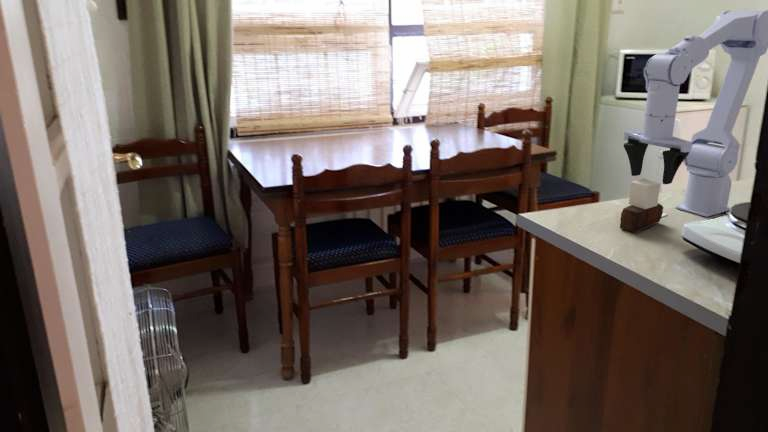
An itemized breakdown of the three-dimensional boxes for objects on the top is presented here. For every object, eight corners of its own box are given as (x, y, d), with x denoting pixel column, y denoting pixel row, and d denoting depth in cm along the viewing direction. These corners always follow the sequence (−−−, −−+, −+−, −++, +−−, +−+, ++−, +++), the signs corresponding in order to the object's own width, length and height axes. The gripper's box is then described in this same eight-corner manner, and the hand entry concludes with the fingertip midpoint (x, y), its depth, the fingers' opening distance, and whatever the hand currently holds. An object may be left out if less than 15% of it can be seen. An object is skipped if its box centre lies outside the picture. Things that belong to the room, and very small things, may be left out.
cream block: (641, 200, 128) (643, 178, 127) (657, 205, 125) (660, 183, 124) (628, 204, 127) (631, 181, 125) (644, 209, 123) (647, 186, 122)
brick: (636, 234, 123) (639, 213, 121) (618, 229, 126) (621, 208, 124) (661, 221, 129) (664, 201, 128) (644, 217, 132) (647, 197, 130)
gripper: (617, 112, 124) (610, 174, 129) (679, 122, 112) (669, 190, 117) (639, 108, 128) (631, 169, 132) (702, 118, 116) (691, 185, 120)
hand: (651, 179), depth 125 cm, fingers open, 7 cm apart
